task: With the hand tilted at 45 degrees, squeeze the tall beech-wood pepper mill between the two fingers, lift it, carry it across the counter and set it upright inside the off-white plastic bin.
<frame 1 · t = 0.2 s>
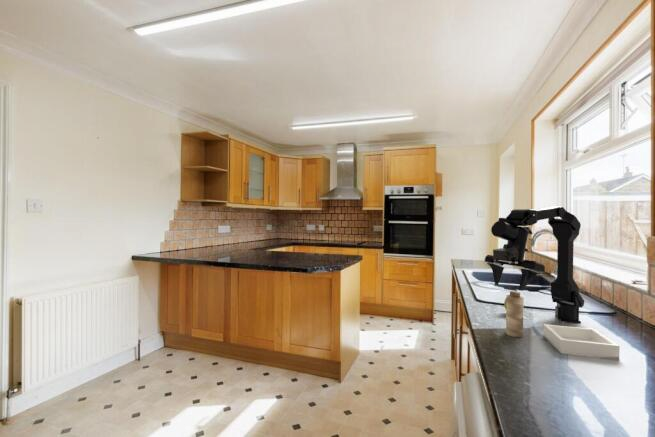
hand: (508, 287, 109), 16 cm above the countertop, tool tilted 15°, fingers open, 9 cm apart
pepper mill: (514, 334, 107), on the countertop
bin: (577, 346, 97), on the countertop
lemon: (511, 314, 129), on the countertop
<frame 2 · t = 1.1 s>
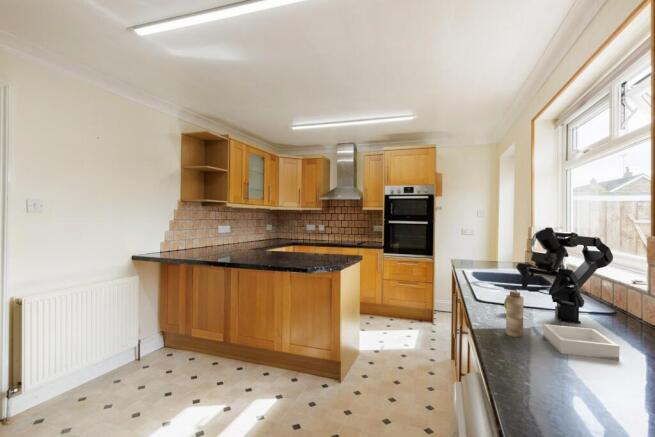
hand: (535, 291, 113), 13 cm above the countertop, tool tilted 45°, fingers open, 9 cm apart
nothing on the countertop moved.
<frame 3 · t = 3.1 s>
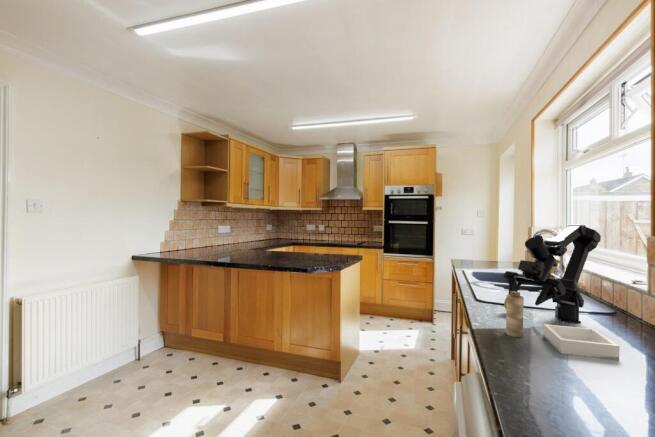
hand: (522, 301, 108), 11 cm above the countertop, tool tilted 45°, fingers open, 9 cm apart
nothing on the countertop moved.
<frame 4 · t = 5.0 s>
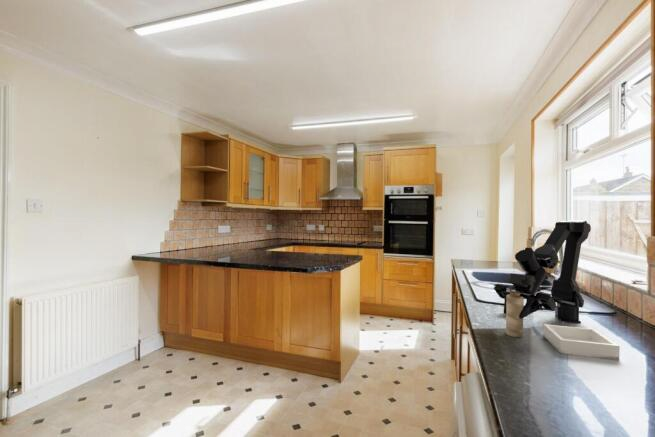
hand: (512, 315, 106), 7 cm above the countertop, tool tilted 45°, fingers closed on pepper mill, 5 cm apart
pepper mill: (514, 334, 107), on the countertop, touching gripper
everything else where it was.
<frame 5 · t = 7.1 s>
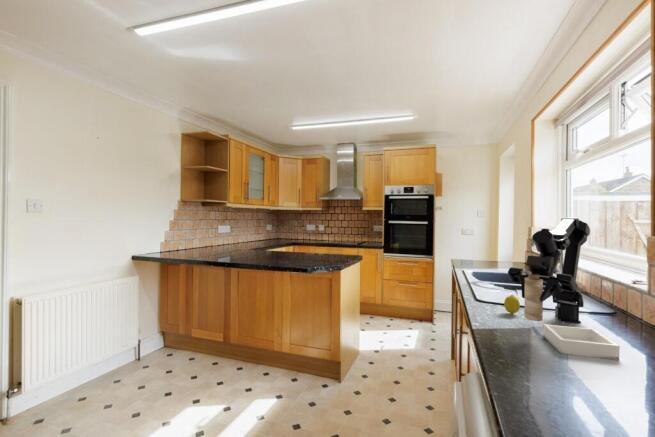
hand: (531, 299, 102), 13 cm above the countertop, tool tilted 45°, fingers closed on pepper mill, 5 cm apart
pepper mill: (533, 318, 103), point 7 cm above the countertop, touching gripper
everything else where it was.
when the fingers open (9 cm above the countertop, at t = 9.4 s): pepper mill drops 1 cm, resting on bin.
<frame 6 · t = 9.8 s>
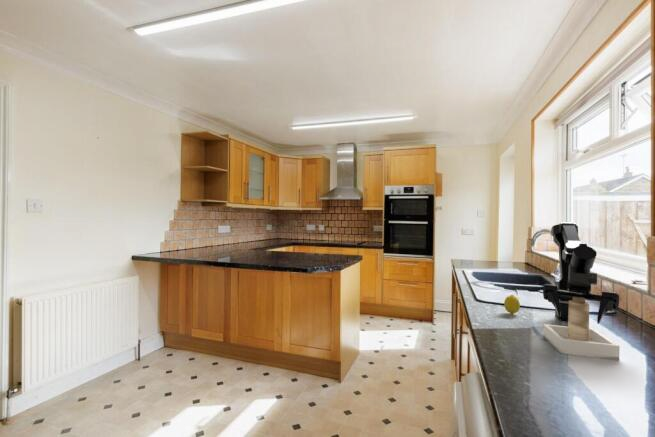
hand: (578, 319, 96), 9 cm above the countertop, tool tilted 45°, fingers open, 9 cm apart
pepper mill: (577, 344, 97), point 1 cm above the countertop, touching bin
everything else where it was.
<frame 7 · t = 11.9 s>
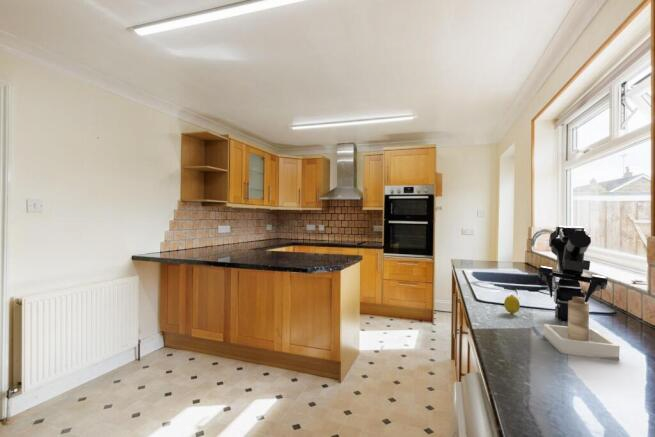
hand: (567, 300, 107), 12 cm above the countertop, tool tilted 30°, fingers open, 9 cm apart
nothing on the countertop moved.
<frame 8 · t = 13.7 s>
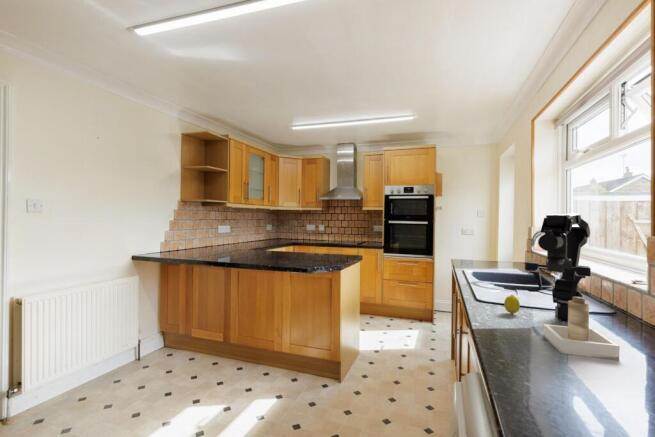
hand: (556, 292, 113), 13 cm above the countertop, tool pointing down, fingers open, 9 cm apart
nothing on the countertop moved.
at the end: pepper mill inside the target area on the bin (0.1 cm from its centre), point 0.8 cm above the bin's base; pepper mill tilted 0°; the gripper is holding nothing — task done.
